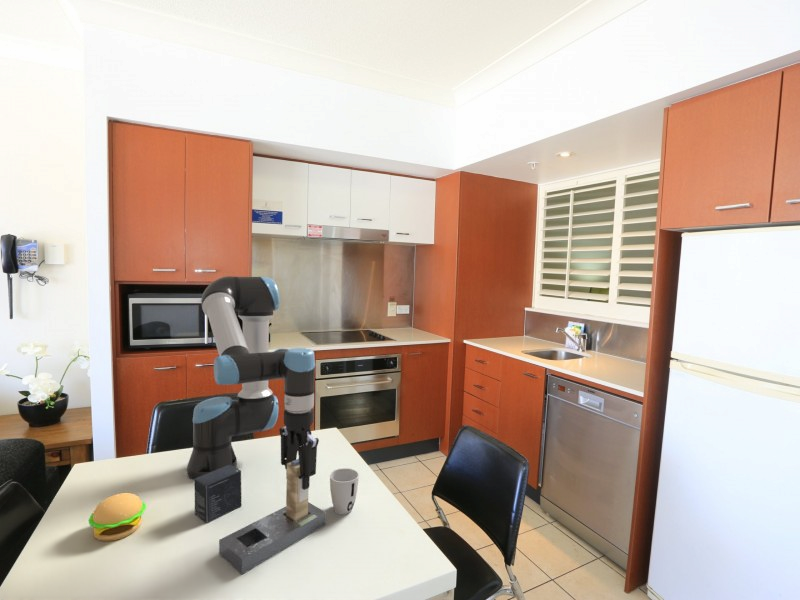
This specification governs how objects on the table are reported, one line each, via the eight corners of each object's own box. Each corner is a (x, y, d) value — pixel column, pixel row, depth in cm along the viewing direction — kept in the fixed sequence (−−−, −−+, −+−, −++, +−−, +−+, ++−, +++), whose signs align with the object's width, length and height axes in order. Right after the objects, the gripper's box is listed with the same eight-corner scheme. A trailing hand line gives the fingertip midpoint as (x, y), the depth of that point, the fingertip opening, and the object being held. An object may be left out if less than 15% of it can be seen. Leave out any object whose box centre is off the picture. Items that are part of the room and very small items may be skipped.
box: (229, 498, 120) (229, 463, 119) (242, 506, 116) (242, 470, 116) (193, 515, 111) (193, 477, 111) (206, 524, 108) (206, 485, 107)
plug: (286, 515, 107) (286, 460, 106) (298, 509, 110) (299, 455, 109) (295, 521, 105) (296, 465, 104) (308, 514, 108) (309, 460, 107)
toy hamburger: (85, 551, 96) (85, 516, 95) (91, 524, 106) (91, 492, 105) (146, 535, 102) (146, 502, 102) (145, 511, 112) (145, 480, 112)
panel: (219, 554, 96) (219, 539, 96) (301, 510, 115) (301, 497, 115) (241, 574, 90) (242, 558, 90) (325, 524, 109) (325, 511, 109)
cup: (352, 519, 112) (353, 483, 111) (324, 514, 113) (325, 479, 113) (361, 503, 120) (362, 470, 119) (335, 499, 121) (335, 466, 121)
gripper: (267, 404, 108) (266, 490, 109) (308, 420, 97) (306, 515, 99) (290, 398, 114) (289, 480, 115) (332, 413, 103) (330, 502, 105)
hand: (297, 496), depth 107 cm, fingers closed on plug, 4 cm apart
